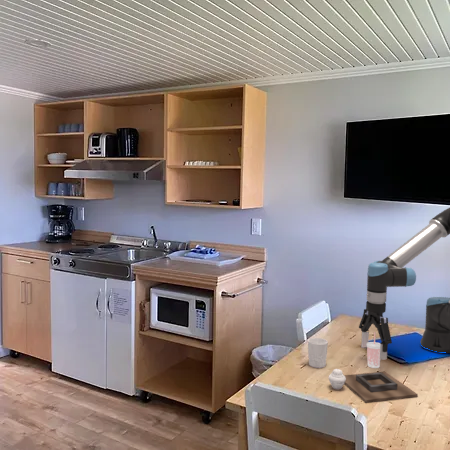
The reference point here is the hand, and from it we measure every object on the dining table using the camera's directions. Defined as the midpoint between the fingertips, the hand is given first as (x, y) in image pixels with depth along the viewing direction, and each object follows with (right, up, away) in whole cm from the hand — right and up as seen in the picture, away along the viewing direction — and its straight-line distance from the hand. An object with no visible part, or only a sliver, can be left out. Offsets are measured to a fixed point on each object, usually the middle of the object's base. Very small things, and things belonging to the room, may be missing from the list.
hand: (373, 353), depth 188 cm
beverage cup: (0, -6, +1) cm, 6 cm away
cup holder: (-5, -7, -19) cm, 21 cm away
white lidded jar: (-20, -7, -20) cm, 29 cm away
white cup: (-23, -5, +1) cm, 23 cm away
